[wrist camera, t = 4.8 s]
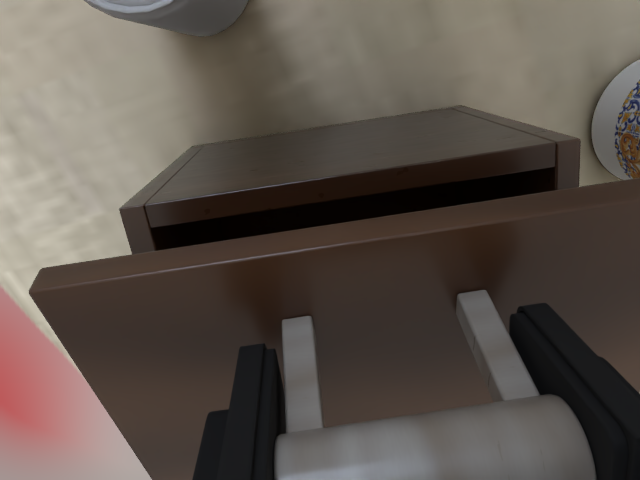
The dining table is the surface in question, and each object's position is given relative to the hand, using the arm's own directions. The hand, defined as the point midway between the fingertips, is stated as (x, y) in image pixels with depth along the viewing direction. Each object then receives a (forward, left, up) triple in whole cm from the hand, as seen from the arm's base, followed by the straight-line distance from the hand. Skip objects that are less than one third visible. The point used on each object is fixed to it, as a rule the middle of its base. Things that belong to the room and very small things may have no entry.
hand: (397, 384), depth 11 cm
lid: (+3, -3, -4) cm, 6 cm away
